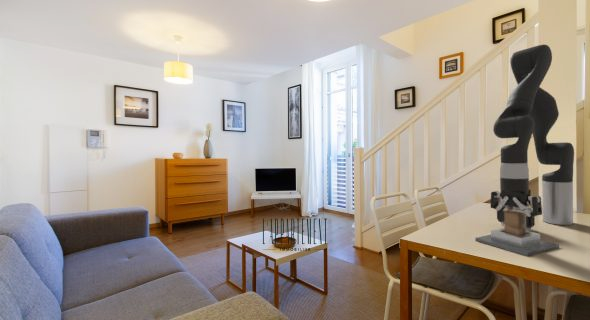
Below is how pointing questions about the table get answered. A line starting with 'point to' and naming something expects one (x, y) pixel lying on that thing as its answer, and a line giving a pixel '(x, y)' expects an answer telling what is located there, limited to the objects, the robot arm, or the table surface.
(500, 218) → the robot arm
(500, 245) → the stepped grey base plate
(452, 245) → the table surface
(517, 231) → the brown rectangular block
